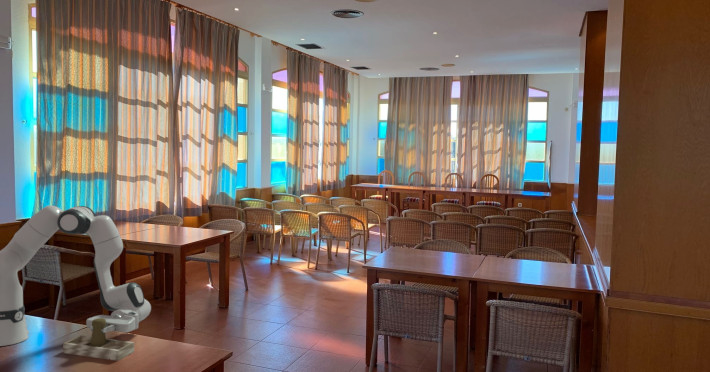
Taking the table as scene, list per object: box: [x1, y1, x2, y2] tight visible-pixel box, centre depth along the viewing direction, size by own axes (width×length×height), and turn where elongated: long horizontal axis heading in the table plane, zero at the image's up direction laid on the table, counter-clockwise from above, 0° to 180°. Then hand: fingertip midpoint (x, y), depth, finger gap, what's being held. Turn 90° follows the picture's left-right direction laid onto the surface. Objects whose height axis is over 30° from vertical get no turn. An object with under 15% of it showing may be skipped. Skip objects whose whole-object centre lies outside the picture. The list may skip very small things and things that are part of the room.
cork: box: [90, 318, 107, 347], centre depth 204 cm, size 6×6×11 cm
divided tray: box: [62, 335, 135, 361], centre depth 205 cm, size 26×9×4 cm, turn 75°
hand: (97, 330), depth 203 cm, fingers closed on cork, 4 cm apart
